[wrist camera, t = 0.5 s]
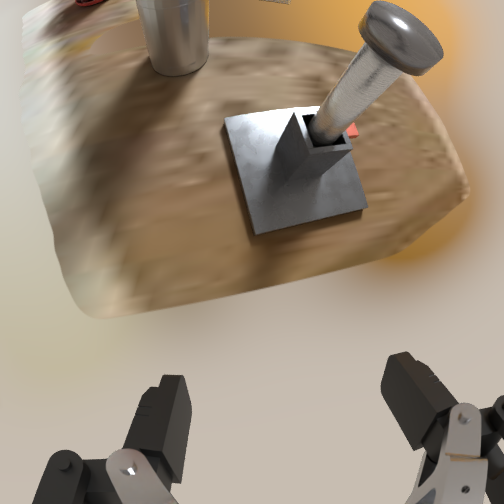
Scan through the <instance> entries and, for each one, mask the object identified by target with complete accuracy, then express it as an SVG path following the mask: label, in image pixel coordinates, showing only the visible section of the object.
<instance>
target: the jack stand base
mask: <svg viewBox="0 0 504 504" xmlns="http://www.w3.org/2000/svg"><path fill="white" fill-rule="evenodd" d="M319 108H320V106H316V107H302V108H291V109H282V110H273V111H265V112H258V113H251V114H245V115H239V116H233V117H227V118H224V126H225V129H226V133H227V137H228V140H229V144H230V148H231V151H232V155H233V159H234V163H235V166H236V170H237V174H238V177H239V181H240V185H241V188H242V192H243V196H244V200H245V203H246V207H247V211H248V215H249V218H250V222H251V226H252V230H253V233H254V236H256V235H260V234H264V233H268V232H272V231H276V230H280V229H284V228H288V227H292V226H296V225H300V224H304V223H308V222H312V221H316V220H320V219H325V218H329V217H333V216H337V215H341V214H346V213H350V212H354V211H358V210H362V209H365V208H368V205H367V201H366V198H365V195H364V191H363V188H362V185H361V182H360V179H359V176H358V173H357V170H356V167H355V164H354V161H353V158H352V156H351V153H350V151H351V150H352V149H353V147H352V144H351V142H350V138H356V137H357V136H358V135H359V134H358V131H357V129H356V127H355V124H354V122H353V123H352V124H351V125H350V126H349V127H348V128H347V129H346V130H345V131H344V132H343V133H342V134H341V136H340V137H339V138H338V139H337V140H336V141H335V142H334V143H333V144H332V145H331V146H325V147H317V148H313V145H312V142H311V139H310V137H309V134H308V131H307V129H306V127H307V125H308V124H309V122H310V121H311V120H312V118H313V117H314V115H315V114H316V112H317V111H318V109H319Z"/></svg>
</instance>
